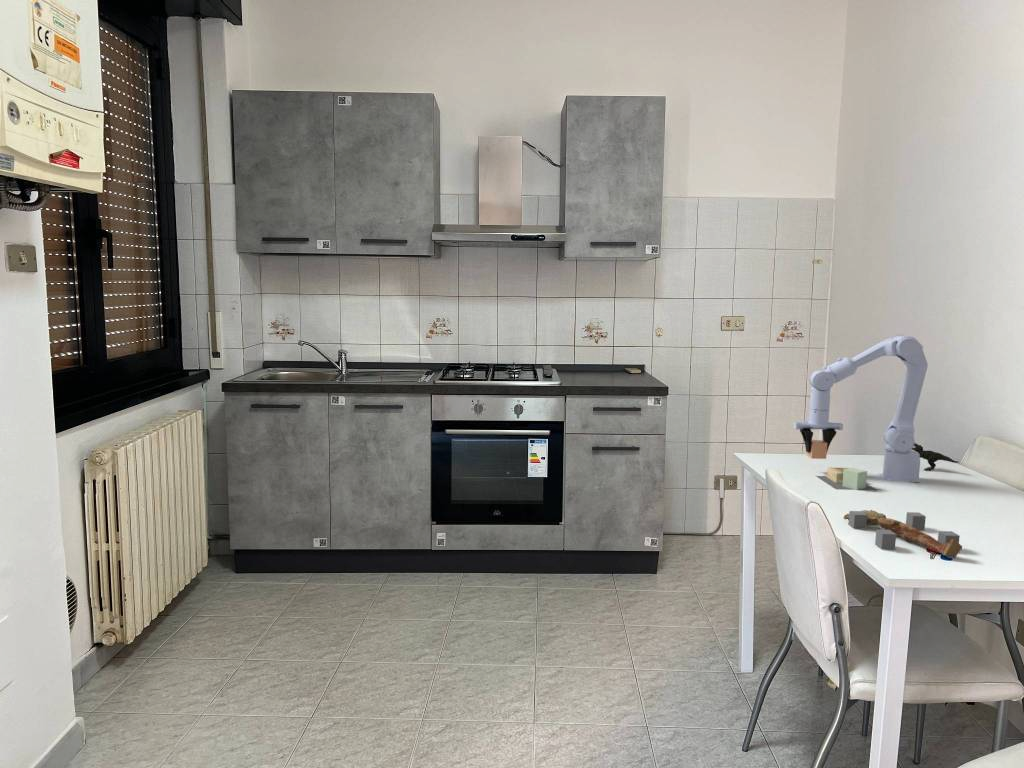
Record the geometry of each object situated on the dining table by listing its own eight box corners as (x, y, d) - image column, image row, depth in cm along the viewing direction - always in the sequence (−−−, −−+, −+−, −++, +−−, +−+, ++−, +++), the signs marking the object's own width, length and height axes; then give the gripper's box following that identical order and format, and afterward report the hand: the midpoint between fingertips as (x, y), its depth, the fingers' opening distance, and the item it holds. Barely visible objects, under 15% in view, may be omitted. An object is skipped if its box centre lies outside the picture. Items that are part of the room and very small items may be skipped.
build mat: (854, 478, 227) (854, 476, 227) (877, 491, 212) (877, 490, 212) (815, 477, 227) (815, 475, 227) (835, 490, 213) (835, 489, 212)
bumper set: (917, 526, 181) (919, 512, 181) (958, 550, 164) (959, 535, 164) (848, 524, 181) (849, 510, 181) (881, 549, 165) (882, 533, 164)
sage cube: (865, 487, 215) (867, 471, 214) (856, 489, 212) (857, 472, 212) (851, 484, 218) (852, 467, 218) (842, 486, 216) (843, 469, 215)
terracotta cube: (820, 455, 233) (821, 440, 233) (826, 458, 229) (827, 443, 228) (806, 455, 233) (807, 439, 233) (811, 458, 229) (812, 442, 228)
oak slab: (849, 477, 226) (850, 467, 226) (859, 483, 219) (860, 473, 219) (826, 476, 226) (827, 467, 226) (836, 482, 219) (836, 473, 219)
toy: (912, 465, 246) (914, 441, 245) (961, 474, 234) (963, 449, 233) (905, 467, 243) (907, 443, 242) (955, 476, 231) (957, 451, 230)
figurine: (950, 536, 158) (847, 491, 186) (935, 559, 158) (833, 511, 186) (969, 552, 161) (864, 505, 189) (954, 575, 161) (851, 525, 188)
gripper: (837, 407, 233) (834, 449, 235) (791, 406, 233) (788, 448, 235) (847, 411, 226) (843, 454, 228) (799, 410, 226) (796, 453, 228)
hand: (816, 452), depth 231 cm, fingers closed on terracotta cube, 4 cm apart
